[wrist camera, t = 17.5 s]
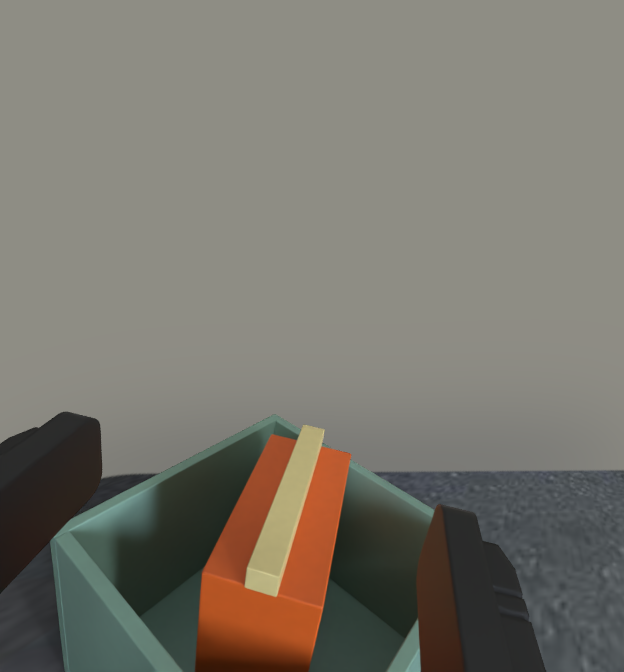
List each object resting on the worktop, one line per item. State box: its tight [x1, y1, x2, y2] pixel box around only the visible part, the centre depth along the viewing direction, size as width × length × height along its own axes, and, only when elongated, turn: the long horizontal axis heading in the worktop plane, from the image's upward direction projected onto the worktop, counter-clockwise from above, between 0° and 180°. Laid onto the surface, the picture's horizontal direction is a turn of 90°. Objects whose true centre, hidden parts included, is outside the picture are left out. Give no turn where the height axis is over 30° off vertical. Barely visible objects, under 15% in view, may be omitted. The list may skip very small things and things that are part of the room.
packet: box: [195, 425, 351, 672], centre depth 21 cm, size 4×9×12 cm, turn 169°
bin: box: [50, 414, 435, 672], centre depth 22 cm, size 14×14×10 cm
